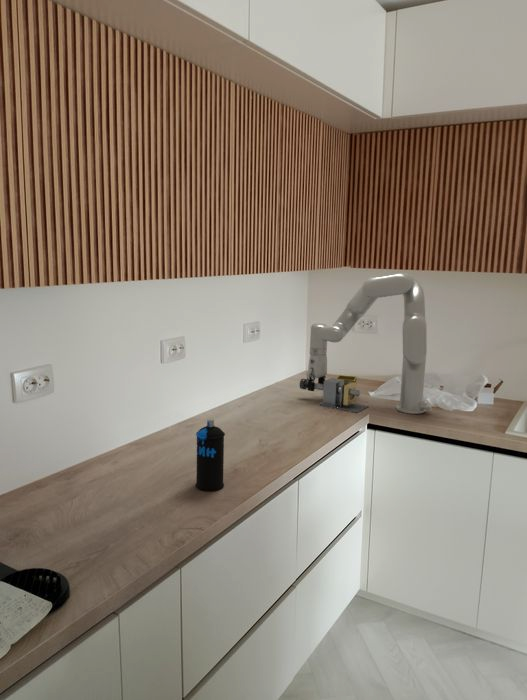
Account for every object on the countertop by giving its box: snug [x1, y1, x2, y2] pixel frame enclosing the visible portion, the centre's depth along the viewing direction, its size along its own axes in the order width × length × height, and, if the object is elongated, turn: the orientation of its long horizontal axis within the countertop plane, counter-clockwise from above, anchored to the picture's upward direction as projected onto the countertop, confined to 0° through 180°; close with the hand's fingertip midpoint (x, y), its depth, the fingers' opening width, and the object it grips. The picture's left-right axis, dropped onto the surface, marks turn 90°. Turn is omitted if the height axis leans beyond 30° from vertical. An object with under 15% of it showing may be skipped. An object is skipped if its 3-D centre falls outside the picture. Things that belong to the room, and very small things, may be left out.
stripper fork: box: [340, 382, 351, 408], centre depth 258 cm, size 1×9×10 cm, turn 147°
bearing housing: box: [318, 377, 344, 409], centre depth 261 cm, size 8×11×11 cm
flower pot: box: [336, 374, 358, 386], centre depth 277 cm, size 9×9×9 cm
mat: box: [335, 402, 370, 414], centre depth 257 cm, size 10×12×1 cm
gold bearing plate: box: [343, 382, 358, 406], centre depth 257 cm, size 2×8×8 cm, turn 147°
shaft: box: [299, 378, 361, 398], centre depth 262 cm, size 28×5×5 cm, turn 57°
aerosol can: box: [195, 418, 226, 492], centre depth 169 cm, size 8×8×20 cm
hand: (316, 388), depth 266 cm, fingers open, 9 cm apart
